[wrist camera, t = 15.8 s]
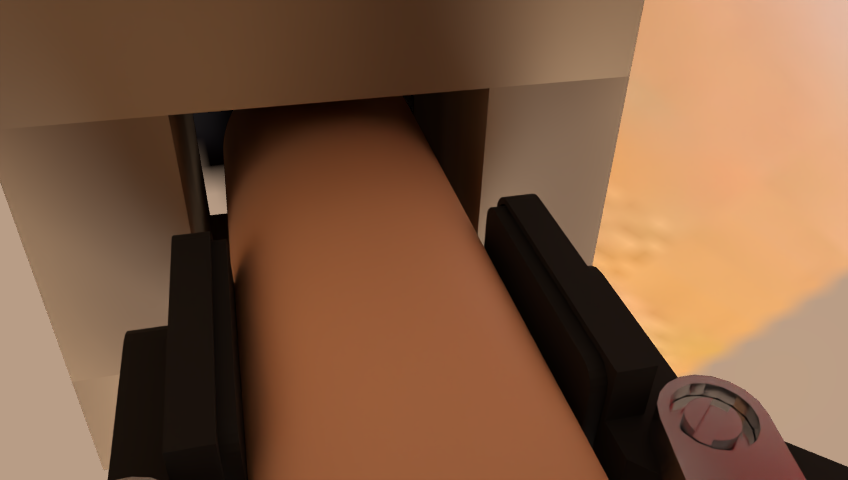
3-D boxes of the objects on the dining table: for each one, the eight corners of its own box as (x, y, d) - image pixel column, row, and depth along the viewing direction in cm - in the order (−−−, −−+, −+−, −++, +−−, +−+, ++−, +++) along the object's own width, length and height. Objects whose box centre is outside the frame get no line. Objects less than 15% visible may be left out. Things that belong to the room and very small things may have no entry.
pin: (202, 273, 16) (217, 1334, 6) (157, 25, 13) (0, 1416, 2) (445, 244, 17) (832, 1069, 7) (460, 9, 14) (1235, 892, 4)
